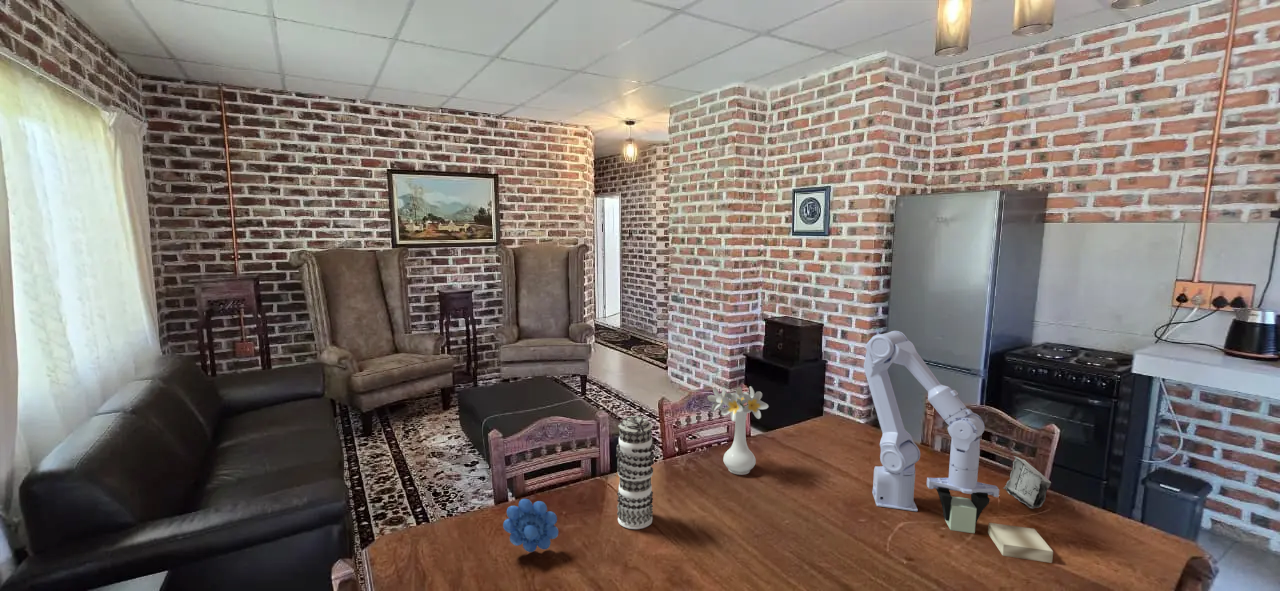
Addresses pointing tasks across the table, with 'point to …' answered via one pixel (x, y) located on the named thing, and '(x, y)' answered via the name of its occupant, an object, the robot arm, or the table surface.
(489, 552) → the table surface
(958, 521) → the sage block
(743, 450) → the flower vase
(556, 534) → the blue flower
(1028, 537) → the cream block
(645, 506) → the decorative candle
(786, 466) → the table surface
